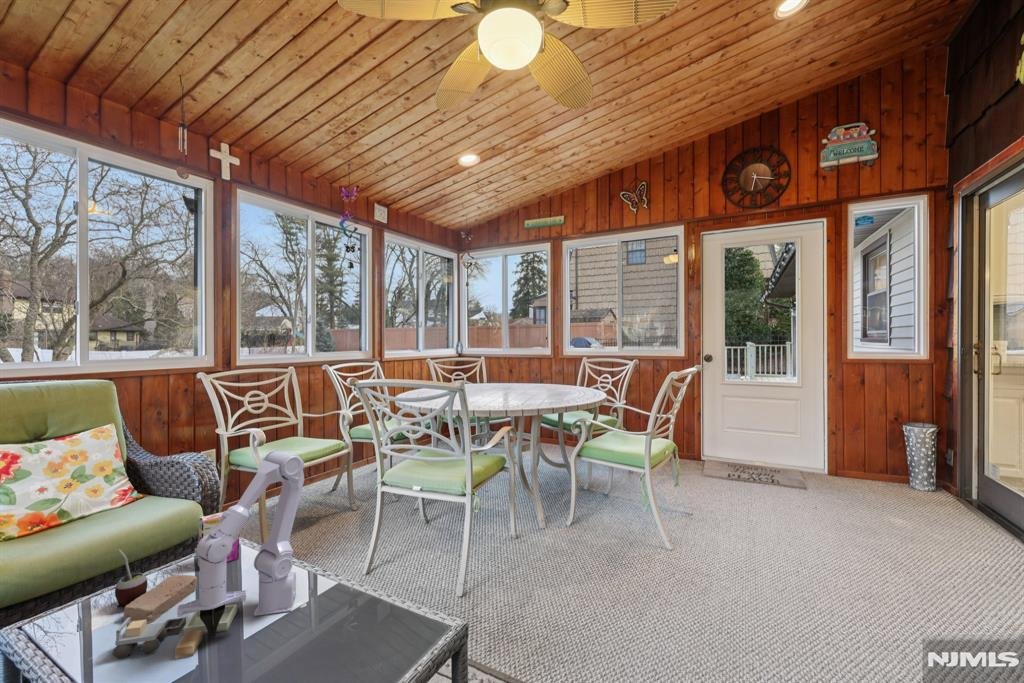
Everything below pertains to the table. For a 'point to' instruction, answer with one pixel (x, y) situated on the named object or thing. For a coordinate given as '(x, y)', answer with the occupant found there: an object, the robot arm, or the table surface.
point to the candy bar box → (209, 523)
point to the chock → (188, 644)
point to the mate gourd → (130, 586)
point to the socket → (175, 622)
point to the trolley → (138, 637)
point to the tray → (223, 625)
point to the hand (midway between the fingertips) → (212, 634)
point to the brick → (160, 598)
